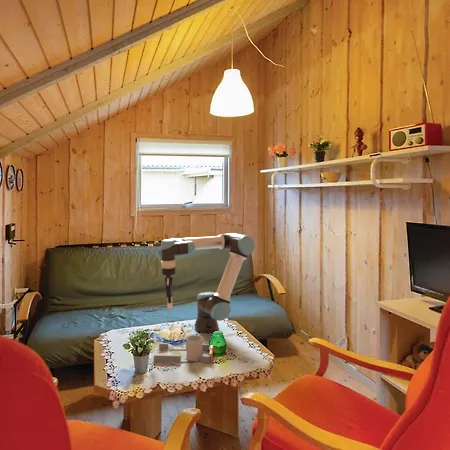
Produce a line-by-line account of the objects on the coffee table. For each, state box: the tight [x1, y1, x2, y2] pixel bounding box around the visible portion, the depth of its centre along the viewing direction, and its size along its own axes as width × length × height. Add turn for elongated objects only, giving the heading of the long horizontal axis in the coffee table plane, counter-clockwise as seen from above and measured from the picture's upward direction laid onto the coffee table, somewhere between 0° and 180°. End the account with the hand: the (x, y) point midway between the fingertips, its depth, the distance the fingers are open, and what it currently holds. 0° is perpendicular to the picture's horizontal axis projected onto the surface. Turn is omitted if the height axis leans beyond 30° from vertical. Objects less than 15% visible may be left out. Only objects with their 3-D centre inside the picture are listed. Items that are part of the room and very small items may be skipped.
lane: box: [153, 342, 214, 364], centre depth 216 cm, size 30×16×5 cm, turn 88°
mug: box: [186, 334, 204, 361], centre depth 215 cm, size 12×8×11 cm
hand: (170, 307), depth 228 cm, fingers closed
